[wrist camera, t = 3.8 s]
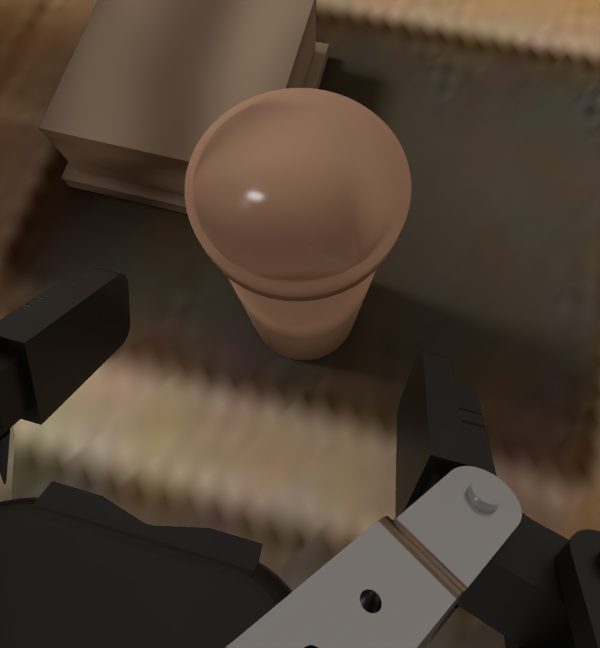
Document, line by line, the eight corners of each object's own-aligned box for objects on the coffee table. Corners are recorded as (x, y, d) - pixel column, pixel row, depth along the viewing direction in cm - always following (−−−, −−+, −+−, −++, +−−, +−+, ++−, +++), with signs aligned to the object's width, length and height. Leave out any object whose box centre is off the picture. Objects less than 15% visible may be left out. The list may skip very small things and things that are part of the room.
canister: (234, 348, 21) (153, 260, 10) (265, 246, 22) (223, 69, 11) (345, 377, 20) (384, 316, 10) (370, 271, 21) (430, 111, 11)
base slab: (69, 186, 23) (20, 136, 19) (141, 19, 25) (111, -55, 22) (274, 234, 22) (267, 192, 18) (328, 56, 25) (331, -14, 21)
